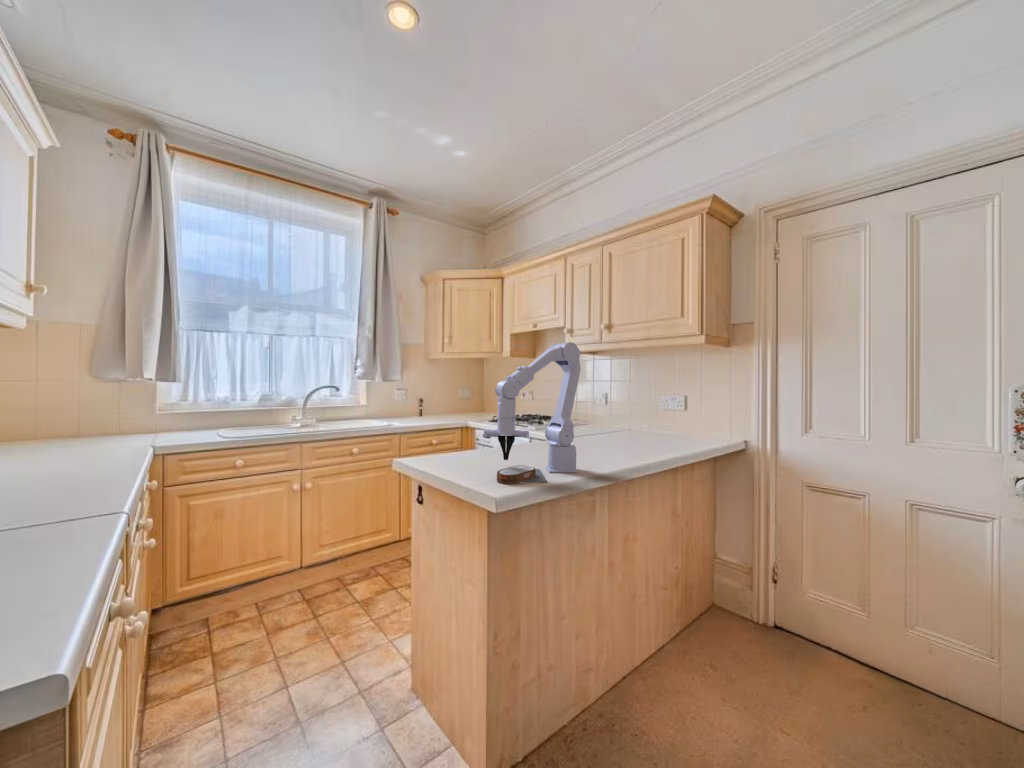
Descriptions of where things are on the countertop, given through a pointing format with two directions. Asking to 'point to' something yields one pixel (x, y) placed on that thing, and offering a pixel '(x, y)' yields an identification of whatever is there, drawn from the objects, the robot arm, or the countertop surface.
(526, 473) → the tin
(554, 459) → the robot arm
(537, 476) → the mat
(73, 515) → the countertop surface
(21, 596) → the countertop surface
